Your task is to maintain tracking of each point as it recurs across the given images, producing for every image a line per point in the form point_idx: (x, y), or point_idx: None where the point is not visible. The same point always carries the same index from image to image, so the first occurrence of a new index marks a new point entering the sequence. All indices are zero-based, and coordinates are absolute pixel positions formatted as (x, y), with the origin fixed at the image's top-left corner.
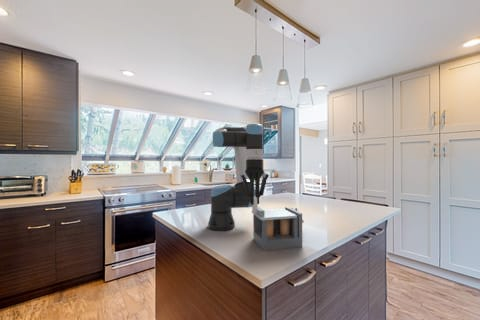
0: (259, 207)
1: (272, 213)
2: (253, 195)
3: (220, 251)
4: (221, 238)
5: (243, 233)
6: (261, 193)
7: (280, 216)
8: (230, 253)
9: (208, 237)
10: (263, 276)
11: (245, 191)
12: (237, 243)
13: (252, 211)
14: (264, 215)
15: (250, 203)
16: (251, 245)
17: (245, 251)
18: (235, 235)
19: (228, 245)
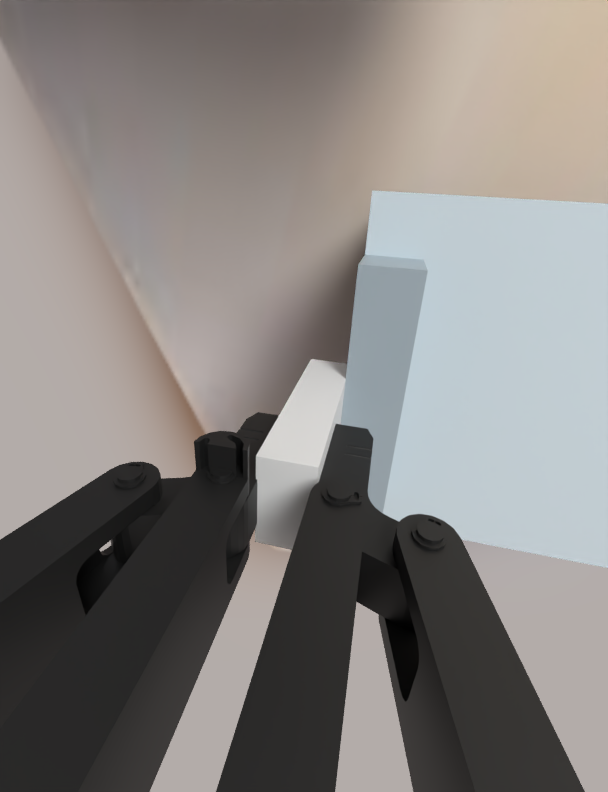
0: (406, 382)
1: (535, 433)
2: (234, 566)
3: (160, 320)
4: (174, 99)
5: (374, 9)
6: (393, 632)
7: (526, 548)
8: (204, 359)
9: (82, 39)
10: (280, 549)
11: (50, 518)
12: (265, 241)
13: (368, 225)
14: (402, 462)
15: (252, 417)
16: (338, 304)
17: (279, 366)
18: (289, 52)
19: (207, 255)
